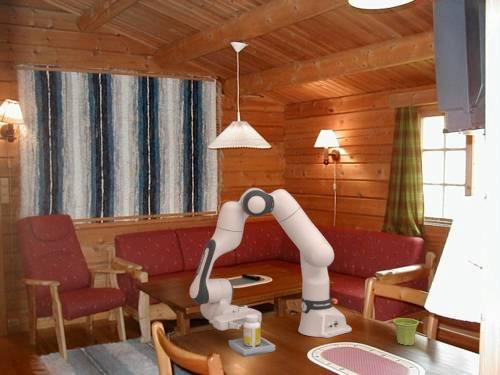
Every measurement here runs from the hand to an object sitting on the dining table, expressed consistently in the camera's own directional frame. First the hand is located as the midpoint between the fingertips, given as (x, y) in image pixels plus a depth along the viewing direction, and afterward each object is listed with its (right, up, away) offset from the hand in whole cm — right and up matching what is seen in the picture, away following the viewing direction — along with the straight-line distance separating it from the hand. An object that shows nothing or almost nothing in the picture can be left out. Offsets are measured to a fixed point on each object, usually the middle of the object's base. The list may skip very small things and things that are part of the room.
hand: (249, 324), depth 204 cm
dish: (+1, -9, 0) cm, 9 cm away
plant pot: (+61, -9, +6) cm, 61 cm away
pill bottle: (+1, -8, 0) cm, 8 cm away
